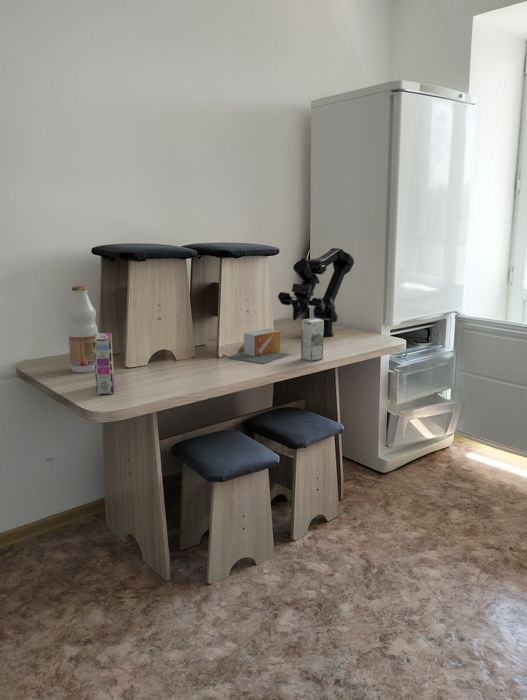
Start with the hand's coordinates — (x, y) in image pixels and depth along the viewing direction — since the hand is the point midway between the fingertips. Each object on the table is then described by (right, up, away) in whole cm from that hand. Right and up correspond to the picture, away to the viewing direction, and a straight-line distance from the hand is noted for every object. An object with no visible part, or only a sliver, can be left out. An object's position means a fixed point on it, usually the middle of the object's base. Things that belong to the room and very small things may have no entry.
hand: (294, 319), depth 224 cm
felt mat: (-14, -14, -14) cm, 24 cm away
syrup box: (+6, -15, -19) cm, 25 cm away
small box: (-7, -8, -7) cm, 13 cm away
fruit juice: (-72, -19, -31) cm, 80 cm away
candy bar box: (-59, -24, -54) cm, 83 cm away
